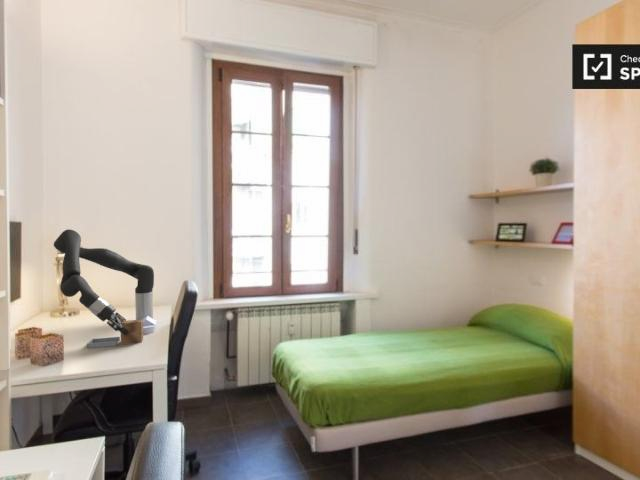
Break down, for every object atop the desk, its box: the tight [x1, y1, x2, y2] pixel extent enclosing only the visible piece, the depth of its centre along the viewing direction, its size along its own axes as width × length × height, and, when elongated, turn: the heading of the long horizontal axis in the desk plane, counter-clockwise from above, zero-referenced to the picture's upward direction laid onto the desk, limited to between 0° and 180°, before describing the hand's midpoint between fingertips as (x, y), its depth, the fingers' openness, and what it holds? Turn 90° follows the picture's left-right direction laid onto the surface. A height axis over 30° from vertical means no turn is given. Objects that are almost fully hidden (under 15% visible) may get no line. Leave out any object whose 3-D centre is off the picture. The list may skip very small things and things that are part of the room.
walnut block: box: [120, 319, 144, 345], centre depth 182 cm, size 9×5×10 cm, turn 107°
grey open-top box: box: [86, 336, 121, 349], centre depth 178 cm, size 12×8×2 cm, turn 107°
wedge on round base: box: [143, 316, 157, 335], centre depth 201 cm, size 9×7×13 cm
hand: (129, 331), depth 181 cm, fingers open, 8 cm apart
